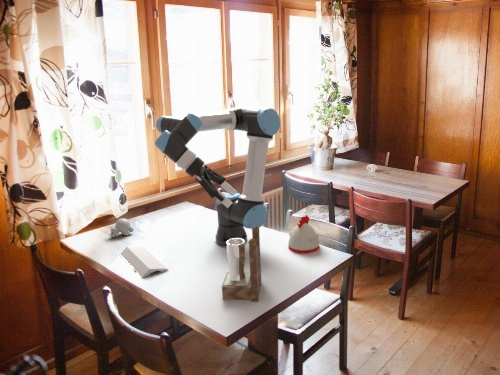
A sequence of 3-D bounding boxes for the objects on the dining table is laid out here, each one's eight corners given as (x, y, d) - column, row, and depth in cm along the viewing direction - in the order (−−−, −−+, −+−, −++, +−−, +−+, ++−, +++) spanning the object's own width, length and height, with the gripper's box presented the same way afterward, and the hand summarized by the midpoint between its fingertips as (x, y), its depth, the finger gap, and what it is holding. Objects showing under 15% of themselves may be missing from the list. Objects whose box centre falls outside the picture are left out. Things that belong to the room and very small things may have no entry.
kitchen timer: (324, 246, 216) (324, 215, 212) (307, 256, 206) (307, 224, 202) (300, 239, 225) (299, 209, 221) (282, 248, 215) (281, 217, 211)
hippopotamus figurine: (111, 240, 241) (102, 227, 237) (130, 226, 246) (123, 214, 242) (116, 244, 235) (107, 231, 231) (136, 230, 240) (128, 217, 236)
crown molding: (168, 271, 199) (167, 263, 198) (140, 279, 193) (139, 271, 192) (144, 249, 223) (143, 242, 222) (118, 256, 216) (117, 248, 215)
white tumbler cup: (224, 278, 178) (222, 242, 173) (237, 272, 182) (235, 236, 178) (237, 284, 173) (235, 246, 169) (250, 277, 177) (249, 240, 173)
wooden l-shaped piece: (222, 301, 172) (218, 240, 165) (228, 282, 186) (224, 225, 180) (258, 301, 171) (255, 240, 164) (261, 282, 185) (259, 225, 178)
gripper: (191, 162, 193) (230, 195, 196) (176, 179, 169) (221, 217, 172) (203, 149, 191) (242, 183, 194) (189, 164, 167) (234, 203, 170)
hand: (232, 199), depth 183 cm, fingers open, 13 cm apart
